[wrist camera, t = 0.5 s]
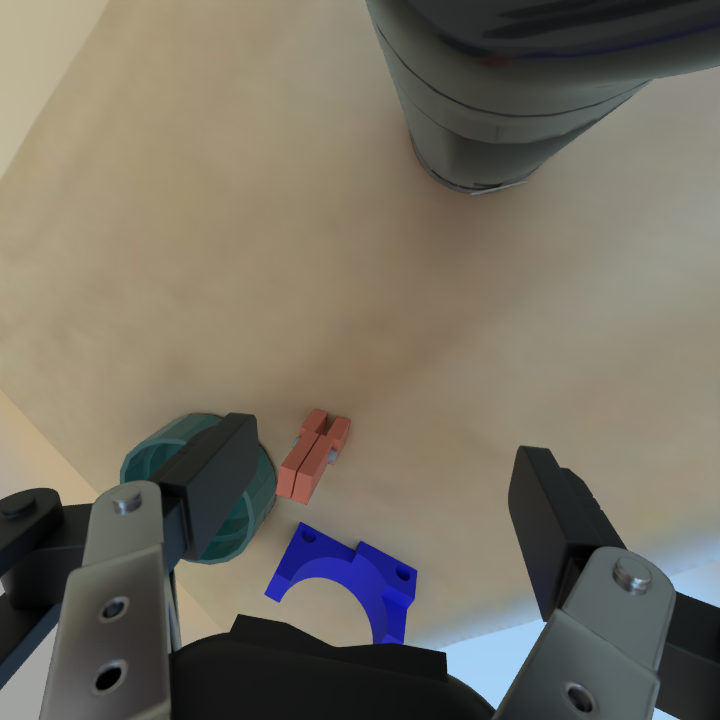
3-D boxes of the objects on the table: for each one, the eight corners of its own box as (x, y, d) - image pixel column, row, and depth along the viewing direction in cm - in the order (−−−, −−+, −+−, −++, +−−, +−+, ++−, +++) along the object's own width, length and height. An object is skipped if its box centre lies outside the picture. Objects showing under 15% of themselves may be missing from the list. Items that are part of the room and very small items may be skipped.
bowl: (161, 394, 36) (119, 418, 31) (288, 437, 34) (263, 468, 30) (156, 500, 40) (119, 534, 36) (268, 542, 39) (244, 583, 34)
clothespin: (314, 408, 33) (272, 463, 25) (351, 420, 32) (320, 479, 24) (309, 431, 34) (267, 491, 26) (345, 443, 33) (314, 508, 25)
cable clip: (417, 570, 36) (411, 632, 30) (396, 599, 38) (387, 662, 32) (305, 511, 36) (280, 561, 31) (290, 542, 38) (264, 594, 33)
